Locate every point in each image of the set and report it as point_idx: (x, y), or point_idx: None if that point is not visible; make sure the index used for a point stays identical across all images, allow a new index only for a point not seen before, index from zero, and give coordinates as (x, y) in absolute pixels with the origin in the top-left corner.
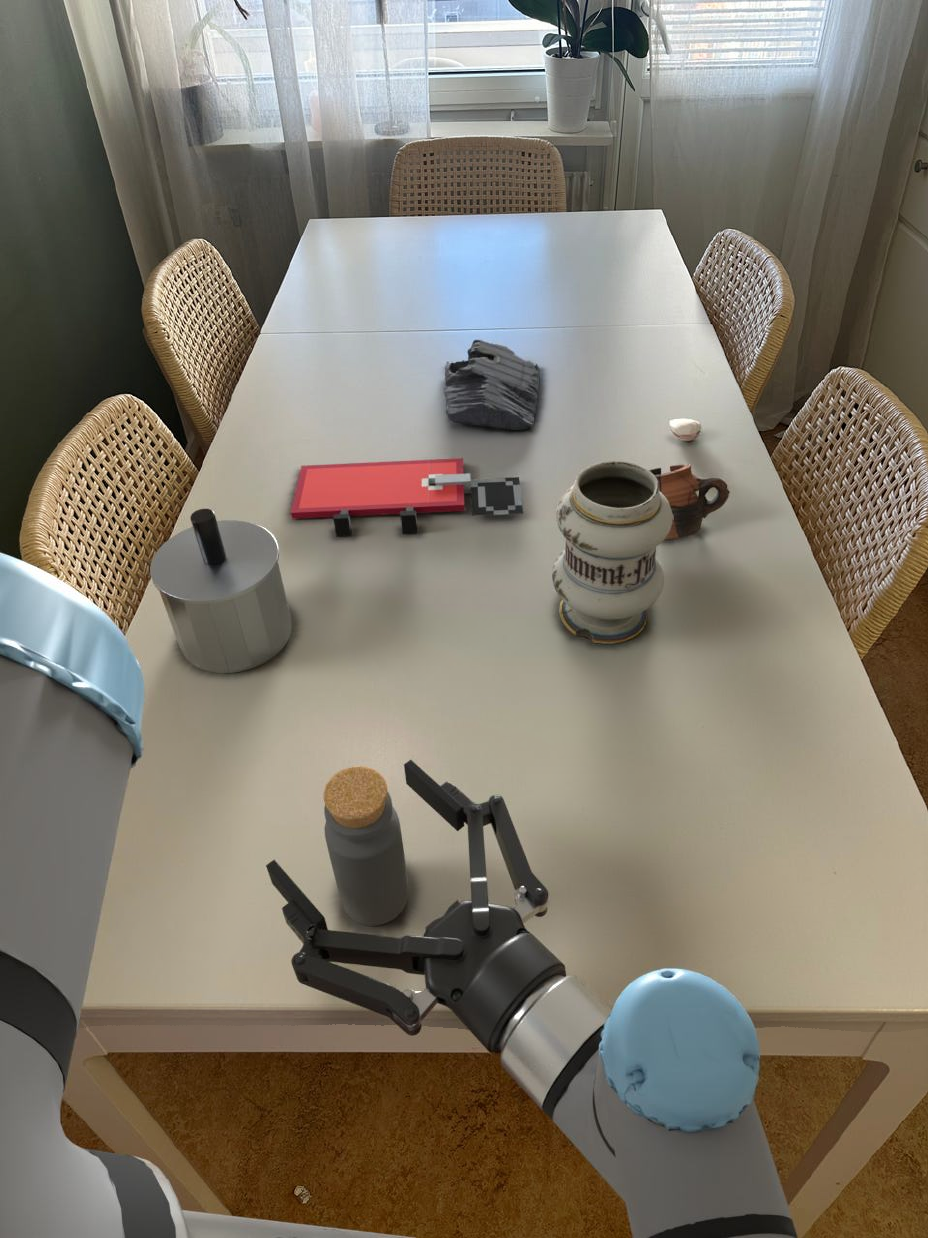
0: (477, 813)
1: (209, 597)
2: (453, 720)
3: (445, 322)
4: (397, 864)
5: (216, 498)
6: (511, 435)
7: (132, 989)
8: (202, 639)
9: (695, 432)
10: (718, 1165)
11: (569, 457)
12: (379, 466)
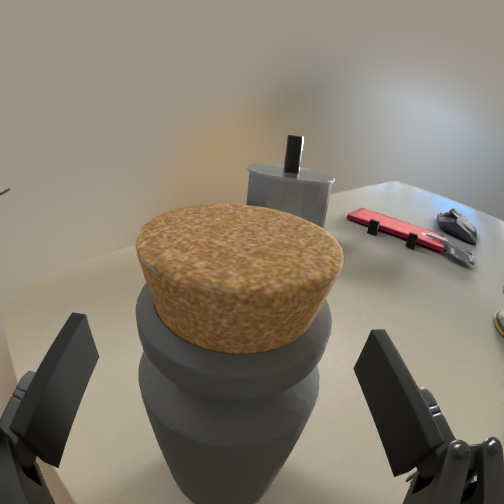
0: (461, 463)
1: (271, 174)
2: (409, 353)
3: (438, 209)
4: (253, 478)
5: None
6: (465, 243)
7: (16, 349)
8: None
9: None
10: None
11: (491, 260)
12: (401, 221)
